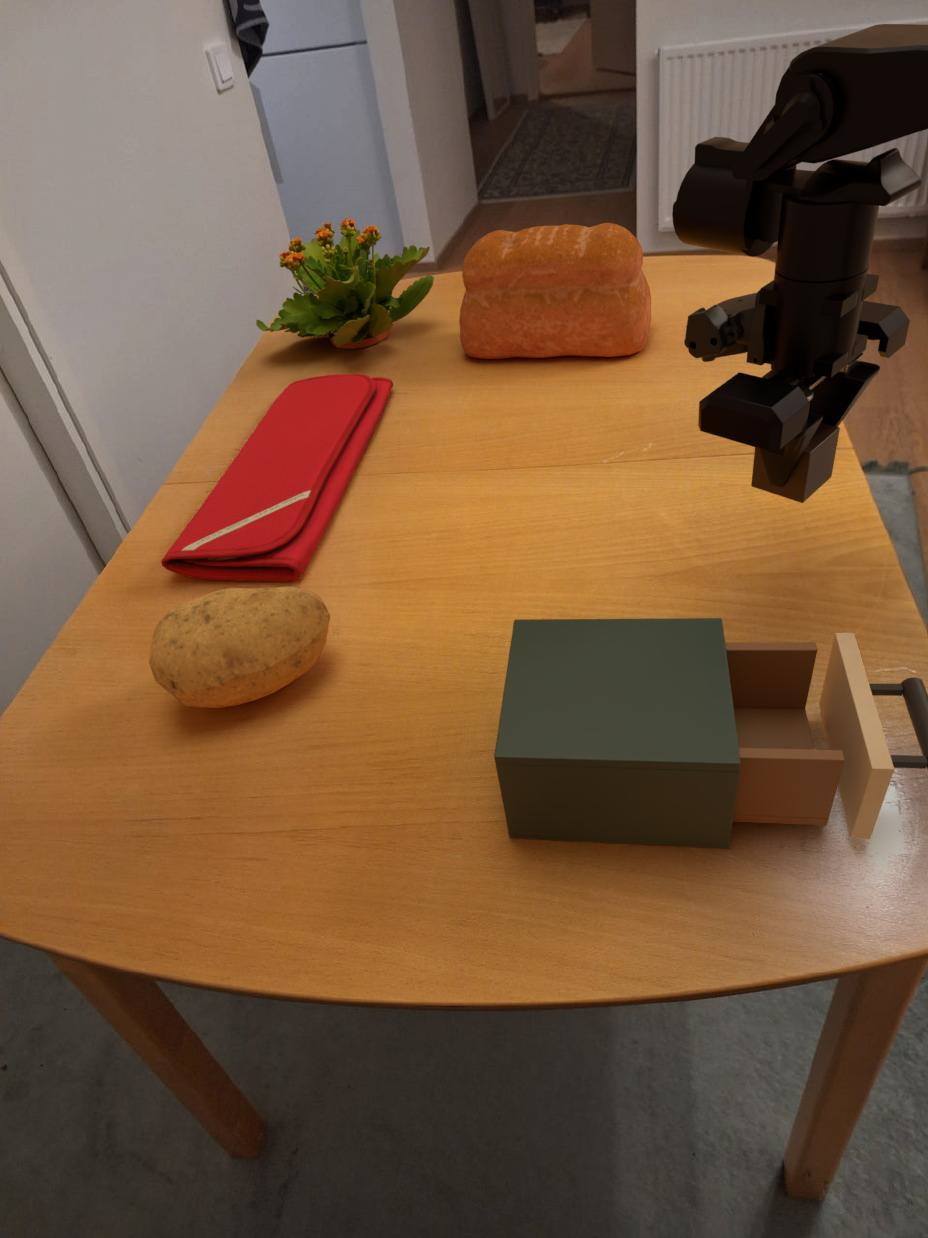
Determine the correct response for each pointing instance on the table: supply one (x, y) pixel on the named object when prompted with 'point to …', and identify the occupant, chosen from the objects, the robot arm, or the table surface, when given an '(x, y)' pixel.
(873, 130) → the robot arm
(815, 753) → the drawer
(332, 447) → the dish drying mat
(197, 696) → the potato
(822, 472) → the block
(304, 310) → the potted flower
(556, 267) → the bread
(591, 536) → the table surface
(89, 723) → the table surface
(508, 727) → the cabinet
